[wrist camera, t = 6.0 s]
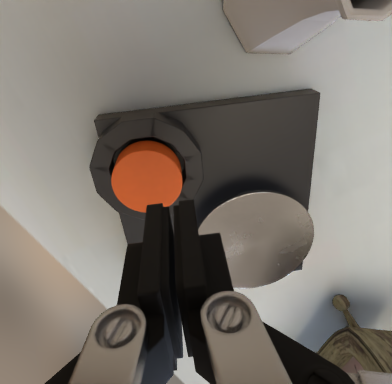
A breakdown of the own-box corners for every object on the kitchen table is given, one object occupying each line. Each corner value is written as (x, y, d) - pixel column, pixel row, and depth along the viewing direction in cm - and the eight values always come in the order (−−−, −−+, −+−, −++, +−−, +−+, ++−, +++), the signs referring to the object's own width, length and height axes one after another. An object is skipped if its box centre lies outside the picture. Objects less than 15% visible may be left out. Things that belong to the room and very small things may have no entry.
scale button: (108, 144, 19) (103, 155, 18) (176, 135, 19) (177, 146, 18) (123, 203, 22) (119, 216, 20) (184, 194, 22) (186, 208, 20)
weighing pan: (186, 198, 21) (187, 201, 21) (317, 181, 22) (320, 184, 21) (199, 291, 26) (199, 295, 26) (306, 276, 26) (308, 280, 26)
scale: (87, 113, 21) (76, 127, 18) (312, 86, 21) (332, 95, 19) (134, 281, 29) (131, 307, 26) (296, 259, 29) (309, 282, 27)
